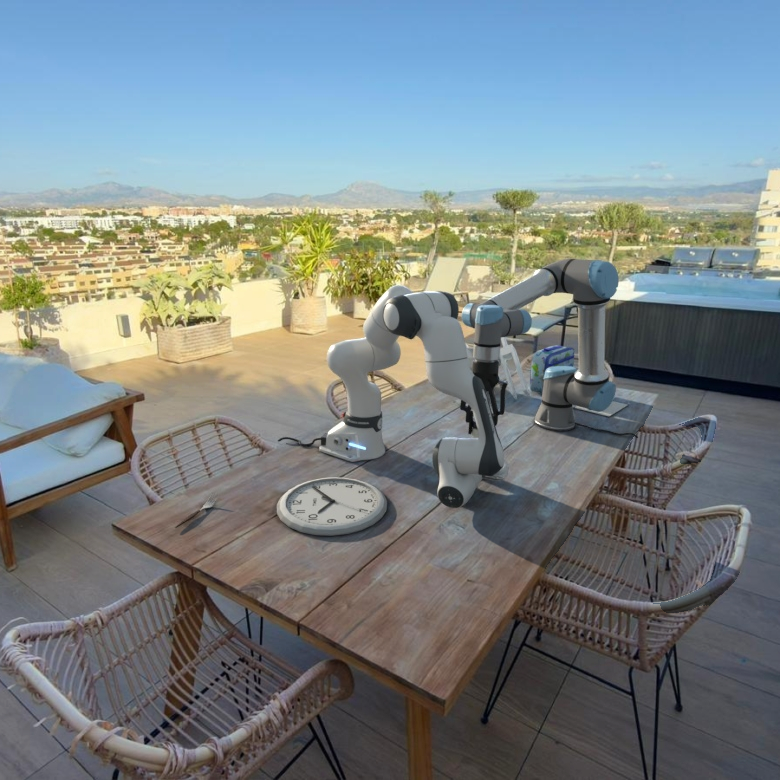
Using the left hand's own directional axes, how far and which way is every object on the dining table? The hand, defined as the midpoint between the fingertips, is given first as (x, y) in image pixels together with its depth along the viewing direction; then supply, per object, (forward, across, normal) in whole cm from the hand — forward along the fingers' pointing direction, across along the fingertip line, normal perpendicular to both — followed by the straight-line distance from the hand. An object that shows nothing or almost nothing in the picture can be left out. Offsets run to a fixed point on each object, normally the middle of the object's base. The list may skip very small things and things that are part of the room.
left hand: (479, 455), depth 161 cm
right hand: (-1, 0, -7) cm, 7 cm away
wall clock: (-37, +31, +6) cm, 49 cm away
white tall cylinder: (-1, 0, +6) cm, 6 cm away
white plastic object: (+82, +21, +6) cm, 85 cm away
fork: (-56, +60, +6) cm, 83 cm away
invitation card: (+86, -32, +6) cm, 92 cm away
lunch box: (+101, -8, +6) cm, 101 cm away
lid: (-1, 0, -11) cm, 11 cm away
